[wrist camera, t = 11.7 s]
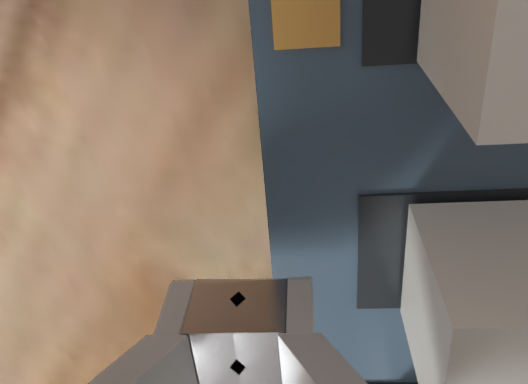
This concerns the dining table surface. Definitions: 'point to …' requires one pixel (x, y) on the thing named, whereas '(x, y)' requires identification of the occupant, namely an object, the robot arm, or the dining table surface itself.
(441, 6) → the tab
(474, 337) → the tab
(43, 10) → the dining table surface
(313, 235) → the switch board
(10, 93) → the dining table surface
